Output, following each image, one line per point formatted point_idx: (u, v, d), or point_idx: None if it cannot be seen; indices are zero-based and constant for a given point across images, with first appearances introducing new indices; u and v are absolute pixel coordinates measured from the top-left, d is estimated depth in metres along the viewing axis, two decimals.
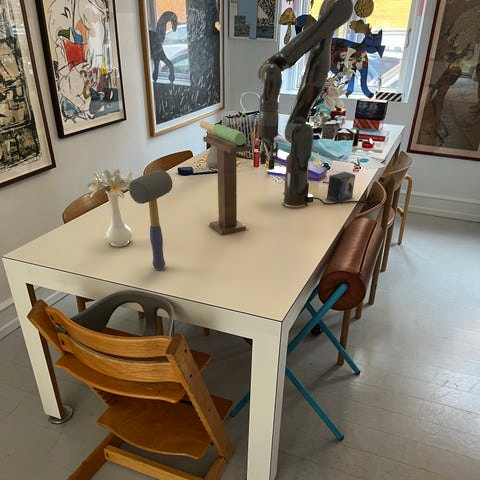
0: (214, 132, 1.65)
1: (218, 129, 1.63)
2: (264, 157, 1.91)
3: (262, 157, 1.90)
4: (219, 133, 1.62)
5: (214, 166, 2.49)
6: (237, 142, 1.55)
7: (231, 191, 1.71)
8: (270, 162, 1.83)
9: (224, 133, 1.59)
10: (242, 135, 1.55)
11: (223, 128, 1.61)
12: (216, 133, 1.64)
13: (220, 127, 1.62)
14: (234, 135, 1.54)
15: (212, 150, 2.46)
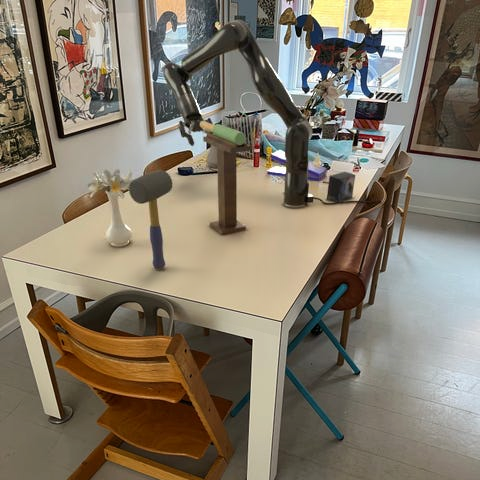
0: (214, 132, 1.65)
1: (218, 129, 1.63)
2: None
3: None
4: (219, 133, 1.62)
5: (214, 166, 2.49)
6: (237, 142, 1.55)
7: (231, 191, 1.71)
8: None
9: (224, 133, 1.59)
10: (242, 135, 1.55)
11: (223, 128, 1.61)
12: (216, 133, 1.64)
13: (220, 127, 1.62)
14: (234, 135, 1.54)
15: (212, 150, 2.46)
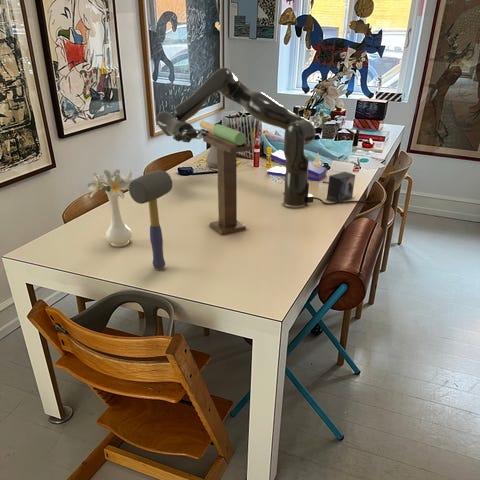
0: (214, 132, 1.65)
1: (218, 129, 1.63)
2: (204, 135, 1.92)
3: None
4: (219, 133, 1.62)
5: (214, 166, 2.49)
6: (237, 142, 1.55)
7: (231, 191, 1.71)
8: None
9: (224, 133, 1.59)
10: (242, 135, 1.55)
11: (223, 128, 1.61)
12: (216, 133, 1.64)
13: (220, 127, 1.62)
14: (234, 135, 1.54)
15: (212, 150, 2.46)
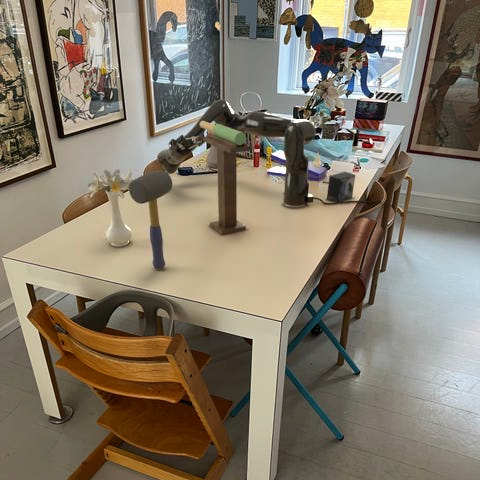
0: (214, 132, 1.65)
1: (218, 129, 1.63)
2: (199, 136, 1.89)
3: (200, 138, 1.89)
4: (219, 133, 1.62)
5: (214, 166, 2.49)
6: (237, 142, 1.55)
7: (231, 191, 1.71)
8: (179, 142, 1.86)
9: (224, 133, 1.59)
10: (242, 135, 1.55)
11: (223, 128, 1.61)
12: (216, 133, 1.64)
13: (220, 127, 1.62)
14: (234, 135, 1.54)
15: (212, 150, 2.46)
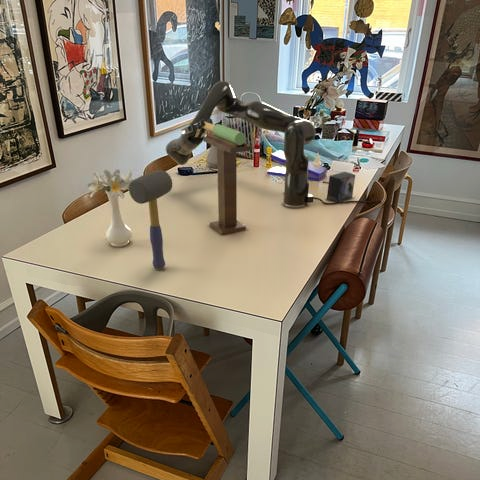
0: (214, 132, 1.65)
1: (218, 129, 1.63)
2: None
3: None
4: (219, 133, 1.62)
5: (214, 166, 2.49)
6: (237, 142, 1.55)
7: (231, 191, 1.71)
8: (199, 127, 1.73)
9: (224, 133, 1.59)
10: (242, 135, 1.55)
11: (223, 128, 1.61)
12: (216, 133, 1.64)
13: (220, 127, 1.62)
14: (234, 135, 1.54)
15: (212, 150, 2.46)
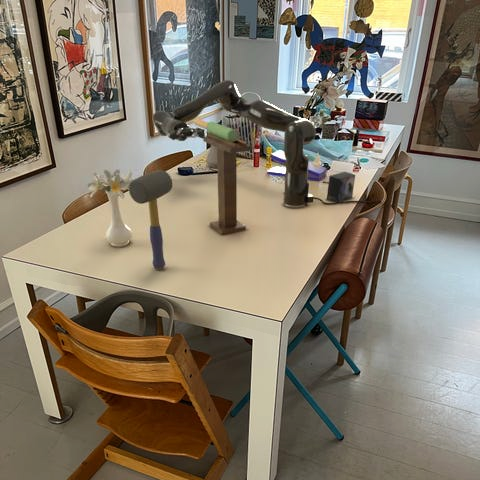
0: (208, 130, 1.69)
1: (211, 126, 1.66)
2: (199, 133, 1.93)
3: (199, 135, 1.93)
4: (212, 130, 1.66)
5: (214, 166, 2.49)
6: (230, 139, 1.59)
7: (231, 191, 1.71)
8: (179, 138, 1.90)
9: (217, 130, 1.63)
10: (235, 132, 1.58)
11: (216, 125, 1.64)
12: (209, 130, 1.68)
13: (213, 124, 1.66)
14: (227, 132, 1.58)
15: (212, 150, 2.46)
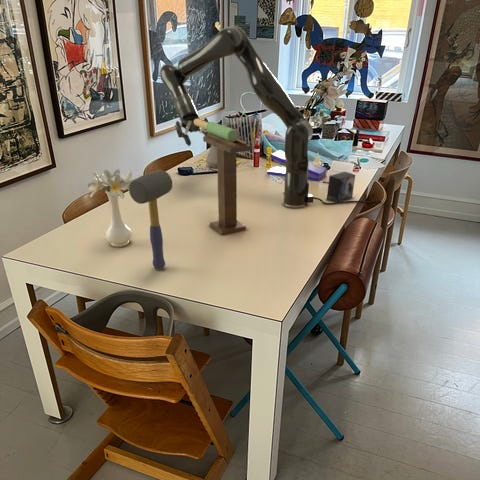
0: (208, 130, 1.69)
1: (211, 126, 1.66)
2: None
3: None
4: (212, 130, 1.66)
5: (214, 166, 2.49)
6: (230, 139, 1.59)
7: (231, 191, 1.71)
8: None
9: (217, 130, 1.63)
10: (235, 132, 1.58)
11: (216, 125, 1.64)
12: (209, 130, 1.68)
13: (213, 124, 1.66)
14: (227, 132, 1.58)
15: (212, 150, 2.46)
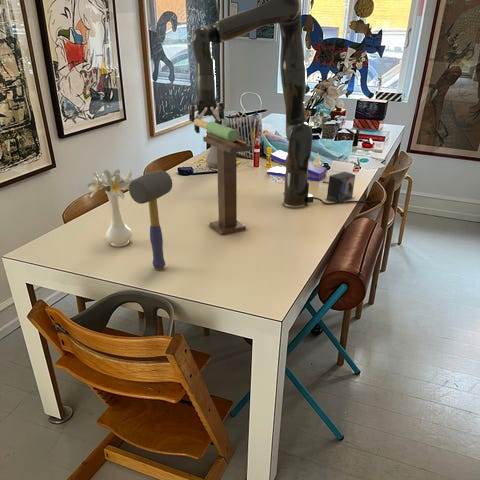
0: (208, 130, 1.69)
1: (211, 126, 1.66)
2: None
3: None
4: (212, 130, 1.66)
5: (214, 166, 2.49)
6: (230, 139, 1.59)
7: (231, 191, 1.71)
8: None
9: (217, 130, 1.63)
10: (235, 132, 1.58)
11: (216, 125, 1.64)
12: (209, 130, 1.68)
13: (213, 124, 1.66)
14: (227, 132, 1.58)
15: (212, 150, 2.46)
